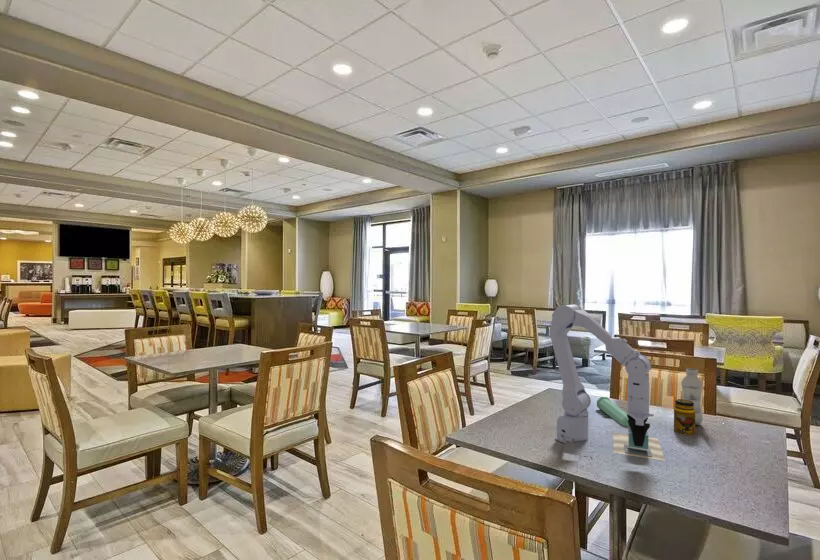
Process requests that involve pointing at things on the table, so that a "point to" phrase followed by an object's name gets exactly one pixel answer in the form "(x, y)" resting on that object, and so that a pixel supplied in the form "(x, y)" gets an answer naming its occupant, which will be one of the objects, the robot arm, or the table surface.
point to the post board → (623, 448)
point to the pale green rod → (612, 411)
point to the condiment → (684, 417)
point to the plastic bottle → (693, 392)
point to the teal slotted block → (631, 442)
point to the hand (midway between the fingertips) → (637, 442)
